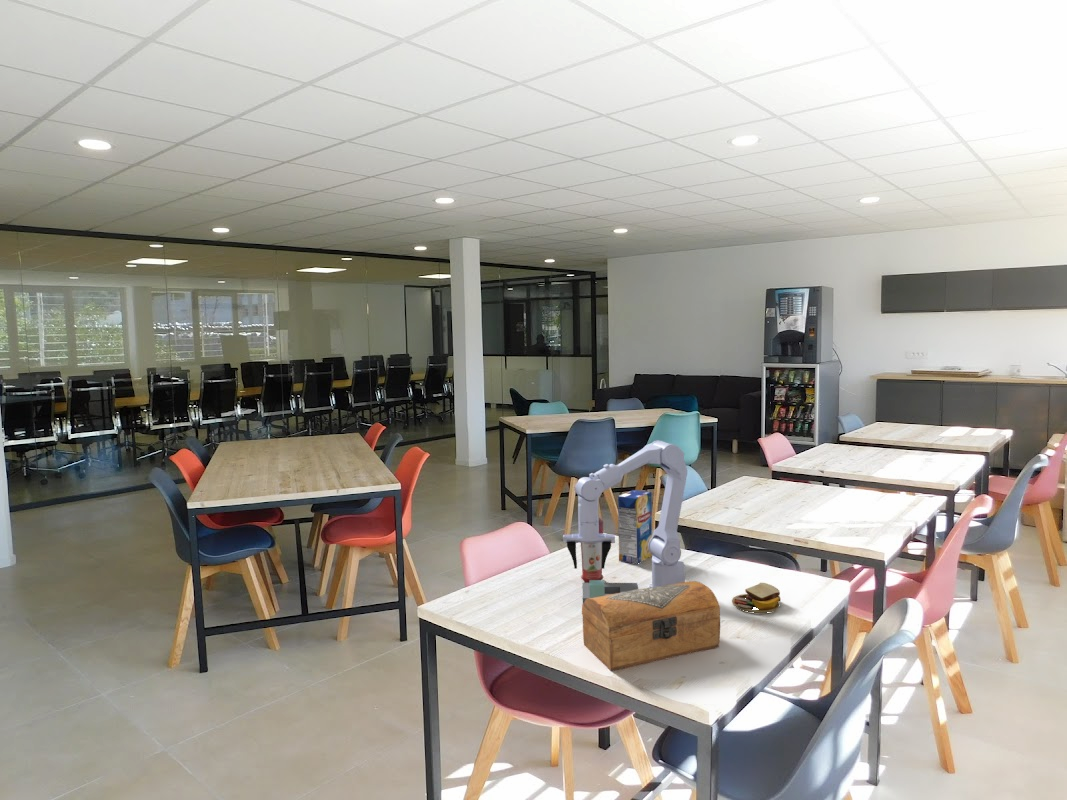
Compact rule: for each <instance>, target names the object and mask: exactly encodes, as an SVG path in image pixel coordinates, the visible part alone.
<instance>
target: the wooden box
mask: <svg viewBox="0 0 1067 800" xmlns="http://www.w3.org/2000/svg"><path fill="white" fill-rule="evenodd" d="M581 615H582V636H583V646H584V647H585V648H587V650H589V652H590V653H591V654H593V655H594V656H595V658H596V659H598V660H599V661H600V662H601V663H602V664H603V665H604V666H605V667H606V668H607V669H608V670H609V671H610V672H614V671H619V670H623V669H628V668H633V667H637V666H641V665H646V664H649V663H650V664H651V663H654V662H658V661H663V660H668V659H672V658H673V659H674V658H677V657H679V656H685V655H686V656H687V655H689V654H690V655H691V654H695V653H699V652H703V651H708V650H713V649H716V648H719V647H720V640H721V639H720V635H721V607H720V603H719V601H718V599H717V597H716V595H715V593H714V592H713V590H712V589H711V588H709V586H707V585H705V584H703V583H701V582H700V581H695V580H694V581H692V580H691V581H685V582H683V583H677V584H671V585H665V586H657V587H650V586H649V587H644V588H638V589H637V590H632V591H627V592H622V593H616V594H611V595H606V596H601V597H595V598H588V599H586V600H585V602H584V604H583V603H582V604H581Z"/></svg>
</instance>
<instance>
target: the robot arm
mask: <svg viewBox="0 0 1067 800" xmlns="http://www.w3.org/2000/svg"><path fill="white" fill-rule="evenodd" d="M647 464H650V465H651V464H654V465H659V466H661V468H662V469H663V470H664V472H665V473H666V474H667V477H666V482H665V487H664V493H663V499H662V504H661V509H660V515H659V520H658V525H657V527H656V528H655V529H654V530H652V538H651V539H650V541H649V543H648V550H649V552H650V553H651V554H652V556H651V584H649V587H657V586H665V585H671V584H677V583H683V582H686V571H685V570H686V568H685V564H684V561H681V560H680V559H681V556H682V550H681V538H680V536H679V535H680V534H679V533H678V527H679V522H680V517H681V516H680V515H681V511H682V506H683V499H684V494H685V488H686V482H687V475H688V469H687V465H686V461H685V452H684V451H683V450H682V448H680V447H679V446H678V445H677V444H675V443H674V444H673V443H668V442H666V441H664V440H661V439H657V440H654V441H652V442H651V443H649V444H646V445H644V447H643V448H641V449H639V450H638V451H637V452H635V453H634V454H632V455H630V456H628V457H627V458H626V459H624V460H623V461H620V463H618V464H614V463H610V464H608V463H605V464H604V465H603V468H601V469H599V470H597V471H596V472H594V473H593V472H591V473H589V474H588V475H589V476H583V477H580V478H579V479H578V480H577V482H576V484H575V486H574V491H575V493H576V495H577V502H578V503H577V513H578V514H577V515H578V518H577V520H578V521H577V522H578V533H569V534H563V535H562V543H563V544H566V547H567V549H568V552H569V554H570V556H571V559H572V562H573V566H574V569H575V570H576V569H577V568H578V560H577V543H580V544H581V543H602V570H603V569H605V565H606V560H607V557H608V554H609V552H610V550H611V547H612V544H616V536H615V534H607V533H603V534H599V518H600V517H599V516H600V515H599V510H600V509H599V499H600V498H601V496H602V493H604V492H606V491H608V489H611V488H612V487H614V486H615V485H618V484H619V483H621V482H622V480H623V477H624V476H625V475H627V474H628V473H630V472H632V471H635V470H637V469H638V468H640V467H642V466H645V465H647Z"/></svg>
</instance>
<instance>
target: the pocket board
mask: <svg viewBox="0 0 1067 800" xmlns="http://www.w3.org/2000/svg"><path fill="white" fill-rule="evenodd" d="M638 585H639V584H638V582H604V590H605V596H606V595H611V594H616V593H622V592H627V591H632V590H637V589H639V586H638ZM588 598H590V587H589V583H586V582H582V604H584V602H585V600H586V599H588Z"/></svg>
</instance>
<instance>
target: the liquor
mask: <svg viewBox="0 0 1067 800" xmlns="http://www.w3.org/2000/svg"><path fill="white" fill-rule="evenodd" d="M599 534H604V520H603V519H602V518H601V517H599ZM580 552H581V570H582V571H581V572H582V573H581V576H580V578H581V580H583V581H584V583H589V580H604V576H603V569H602V543H580Z"/></svg>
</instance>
